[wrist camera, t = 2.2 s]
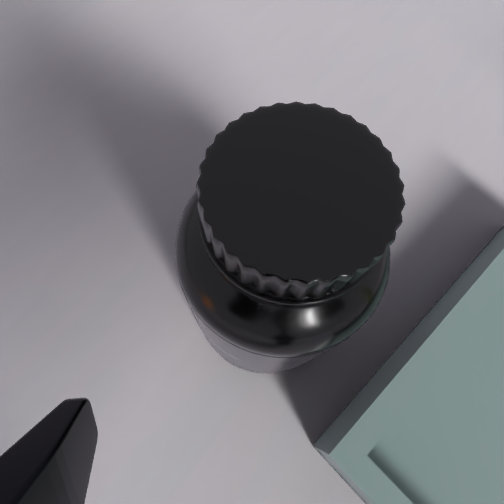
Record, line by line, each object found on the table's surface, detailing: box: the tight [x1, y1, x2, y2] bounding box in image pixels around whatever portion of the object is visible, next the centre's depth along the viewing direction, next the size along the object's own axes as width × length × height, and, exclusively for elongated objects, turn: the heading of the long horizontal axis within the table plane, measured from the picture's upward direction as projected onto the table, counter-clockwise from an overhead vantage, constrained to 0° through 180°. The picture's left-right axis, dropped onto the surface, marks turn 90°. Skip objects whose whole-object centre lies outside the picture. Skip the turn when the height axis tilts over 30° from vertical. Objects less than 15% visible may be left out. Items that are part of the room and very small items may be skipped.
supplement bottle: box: [175, 102, 405, 373], centre depth 14 cm, size 7×7×12 cm
